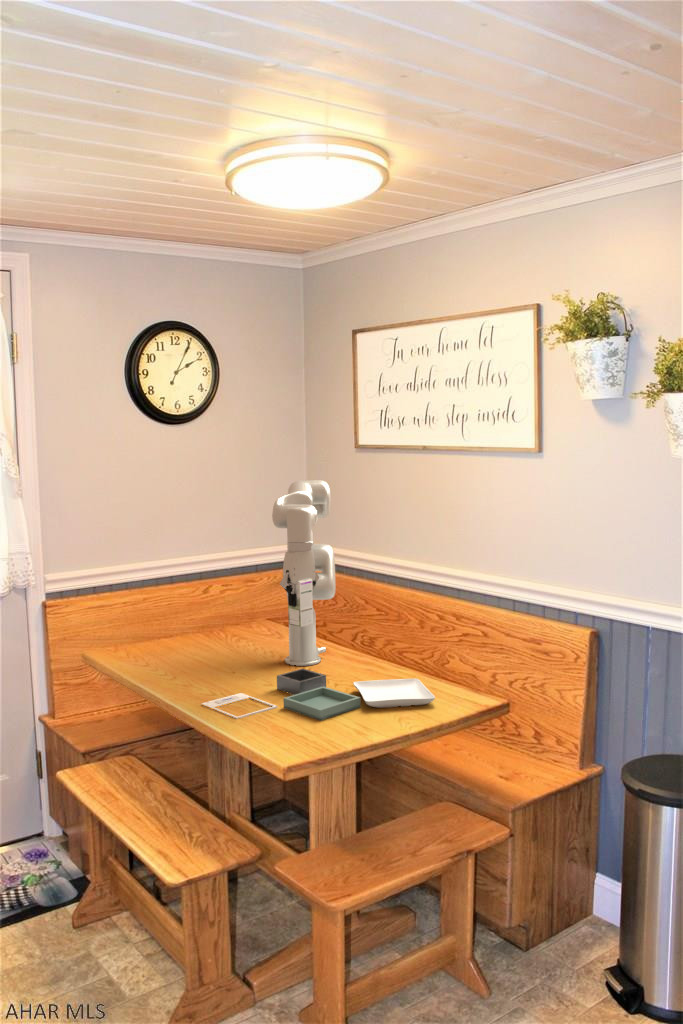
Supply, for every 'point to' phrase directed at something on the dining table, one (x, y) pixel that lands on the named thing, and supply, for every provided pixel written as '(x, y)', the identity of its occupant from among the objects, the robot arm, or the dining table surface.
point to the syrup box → (302, 605)
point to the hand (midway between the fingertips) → (300, 603)
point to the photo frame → (233, 699)
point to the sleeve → (300, 681)
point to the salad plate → (394, 692)
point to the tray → (322, 703)
